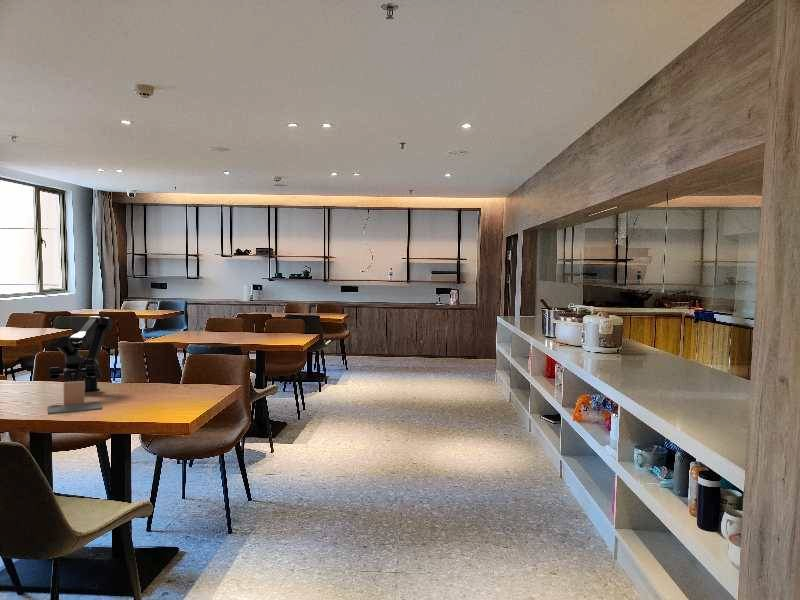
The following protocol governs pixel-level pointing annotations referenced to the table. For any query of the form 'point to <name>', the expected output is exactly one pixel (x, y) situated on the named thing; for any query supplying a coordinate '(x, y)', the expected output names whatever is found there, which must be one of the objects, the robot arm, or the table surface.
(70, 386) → the glazed tile
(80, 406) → the mat
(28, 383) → the table surface
